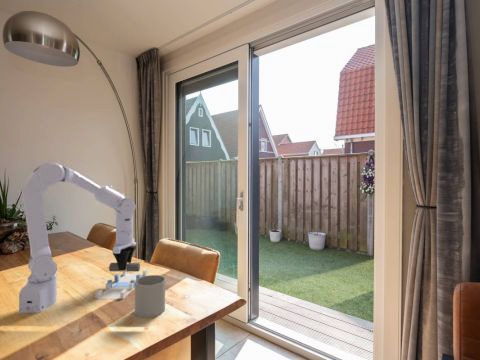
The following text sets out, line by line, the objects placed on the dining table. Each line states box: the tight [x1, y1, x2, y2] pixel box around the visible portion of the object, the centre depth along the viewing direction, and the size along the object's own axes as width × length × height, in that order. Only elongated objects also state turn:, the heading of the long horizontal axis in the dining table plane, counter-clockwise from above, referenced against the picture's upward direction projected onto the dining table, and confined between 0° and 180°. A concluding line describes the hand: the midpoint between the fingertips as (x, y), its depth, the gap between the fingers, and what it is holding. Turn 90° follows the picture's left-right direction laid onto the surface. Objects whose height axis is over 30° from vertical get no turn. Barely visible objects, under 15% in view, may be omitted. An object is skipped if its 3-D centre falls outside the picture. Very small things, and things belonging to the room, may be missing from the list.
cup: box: [134, 274, 166, 319], centre depth 83 cm, size 8×8×10 cm
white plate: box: [94, 268, 149, 300], centre depth 103 cm, size 24×9×4 cm, turn 0°
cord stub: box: [108, 262, 141, 273], centre depth 103 cm, size 10×3×3 cm, turn 90°
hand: (124, 268), depth 103 cm, fingers closed on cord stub, 3 cm apart
